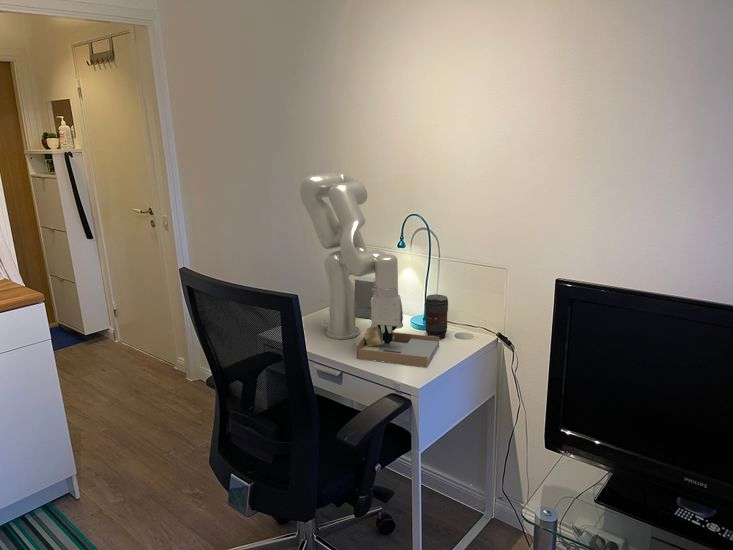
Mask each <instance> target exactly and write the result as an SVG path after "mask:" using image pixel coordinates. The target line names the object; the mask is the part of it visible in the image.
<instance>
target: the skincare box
mask: <svg viewBox="0 0 733 550" xmlns="http://www.w3.org/2000/svg"><path fill="white" fill-rule="evenodd" d="M372 287H375V277H371V276H366V275H364V276H359V277H356V278H355V279H354V295H355V318H362V319H370V320H371V298H372V297H373V295H374V291H372Z"/></svg>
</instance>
